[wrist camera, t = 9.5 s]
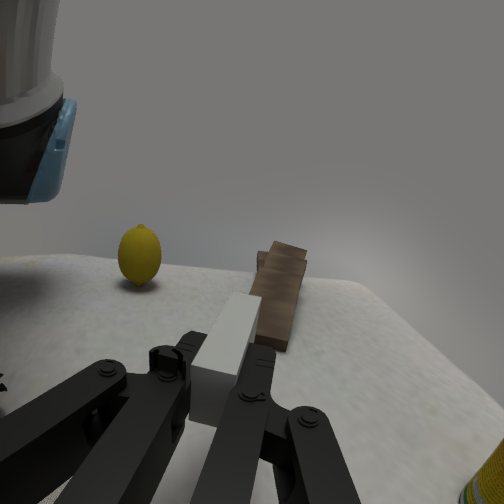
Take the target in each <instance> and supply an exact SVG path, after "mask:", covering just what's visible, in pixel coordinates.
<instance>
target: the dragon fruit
mask: <svg viewBox="0 0 504 504" xmlns="http://www.w3.org/2000/svg"><path fill="white" fill-rule="evenodd" d="M2 376H3V374H1V373H0V377H2ZM2 391H7V388H6V387H5V386H4V384H3V383H1V384H0V392H2Z"/></svg>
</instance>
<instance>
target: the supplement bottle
mask: <svg viewBox="0 0 504 504" xmlns="http://www.w3.org/2000/svg"><path fill="white" fill-rule="evenodd" d="M460 504H504V438H503V439H502V441H501V442H500V444H499V445H498V446H497V448H496V449H495V450H494V452H493V453H492V454H491V455H490V457H489V458H488V459H487V460H486V462H485V463H484V464H483V465H482V467H481V468H480V469H479V470H478V471H477V473H476V474H475V475H474V476H473V477H472V478H471V480H470V481H469V482H468V483H467V484H466V486H465V487H464V489H463V491H462V493H461V498H460Z"/></svg>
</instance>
